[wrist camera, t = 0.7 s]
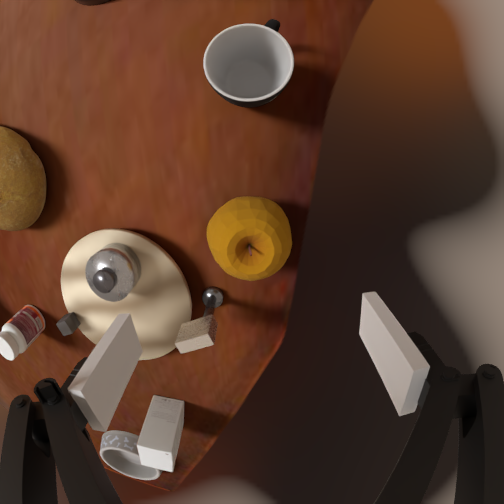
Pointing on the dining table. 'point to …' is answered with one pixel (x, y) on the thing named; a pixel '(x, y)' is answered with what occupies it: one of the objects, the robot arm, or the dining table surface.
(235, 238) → the apple
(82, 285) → the platter
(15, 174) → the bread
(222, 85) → the mug
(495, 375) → the robot arm
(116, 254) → the cover
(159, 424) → the small box
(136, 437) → the dog bowl
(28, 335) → the pill bottle
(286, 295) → the dining table surface
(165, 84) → the dining table surface
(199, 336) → the silver rod with block
